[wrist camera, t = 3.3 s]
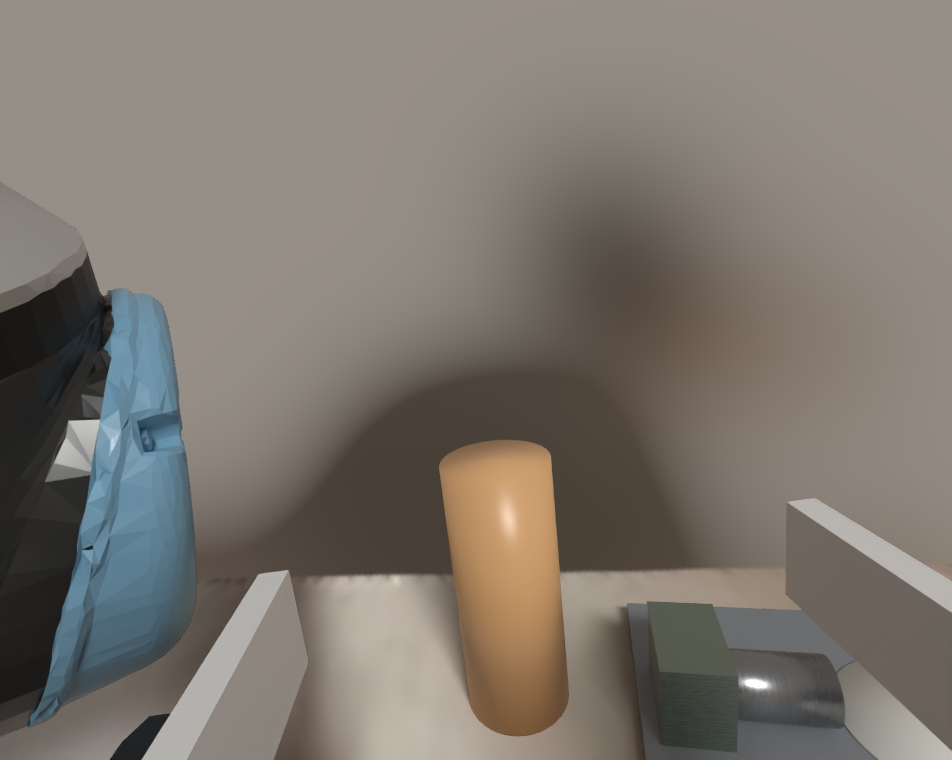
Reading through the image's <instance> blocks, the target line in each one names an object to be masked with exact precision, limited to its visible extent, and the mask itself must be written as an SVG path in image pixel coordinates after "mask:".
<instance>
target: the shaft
mask: <svg viewBox="0 0 952 760" xmlns="http://www.w3.org/2000/svg"><path fill="white" fill-rule="evenodd" d="M647 613H648V645H649V668H650V674H651V681H652V687H653V693H654V700H655V706H656V713H657V719H658V725H659V732H660V738H661V744H662V745H664V746H674V747H684V748H694V749H704V750H714V751H724V752H734V753H737V739H738V720H742V721H754V722H765V723H777V724H788V725H800V726H811V727H823V728H834V729H841V728H842V727H843V726H844V723H845V703H844V697H843V693H842V689H841V685H840V682H839V679H838V676H837V674H836V671H835V669H834V667H833V665H832V663H831V662H830V660H829V659H828V658H827V656H826V655H824V654H821V653H804V652H787V651H770V650H753V649H736V648H728V647H727V644H726V641H725V638H724V635H723V633H722V630H721V627H720V624H719V622H718V619H717V616H716V613H715V611H714V608H713V605H712V604H696V603H672V602H648V601H647Z"/></svg>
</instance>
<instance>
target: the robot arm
mask: <svg viewBox="0 0 952 760" xmlns="http://www.w3.org/2000/svg"><path fill="white" fill-rule="evenodd" d="M181 430H182V421H181V415H180V408H179V389H178V382H177V374H176V367H175V360H174V354H173V348H172V342H171V336H170V331H169V326H168V321H167V317H166V314H165V311H164V308H163V306H162V304H161V303H160V302H159V301H158V300H156V299H155V298H154V297H152V296H150V295H147V294H135V293H132V292H130V291H128V290H127V289H124V288H120V289H115V290H110V291H108V292H107V295H106V296H102V294H101V293H100V291H99V288H98V285H97V282H96V279H95V276H94V272H93V269H92V266H91V263H90V260H89V256H88V253H87V250H86V247H85V244H84V242H83V238H82V236H81V234H80V233H79V232H78V231H77V229H76V228H75V227H74V226H72V225H70V224H69V223H67V222H66V221H64V220H62V219H61V218H59V217H57V216H56V215H54V214H52V213H50V212H49V211H47V210H46V209H44V208H42V207H41V206H39V205H37V204H36V203H34V202H32V201H31V200H29V199H28V198H26V197H24V196H23V195H21V194H19V193H18V192H16V191H14V190H12V189H11V188H9V187H8V186H6V185H5V184H3V183H1V182H0V736H3V735H5V734H8V733H10V732H13V731H15V730H18V729H20V728H23V727H25V726H29V727H33V726H35V725H38V724H41V723H43V722H45V721H47V720H48V719H50V718H51V717H53V716H54V715H55V714H56V713H57V712H58V710H59V709H60V708H61V707H62V706H64V705H66V704H68V703H70V702H72V701H74V700H77V699H79V698H81V697H83V696H85V695H87V694H89V693H91V692H93V691H96V690H98V689H100V688H102V687H104V686H106V685H108V684H110V683H112V682H115V681H117V680H119V679H121V678H123V677H125V676H127V675H129V674H132V673H134V672H136V671H138V670H140V669H142V668H144V667H146V666H148V665H150V664H152V663H153V662H155V661H156V660H158V659H159V658H161V657H162V656H164V655H165V654H166V653H167V652H168V651H170V650H171V649H172V648H173V647H174V646H175V645H176V644H177V642H178V641H179V640H180V639H181V637H182V636H183V634H184V633H185V631H186V630H187V628H188V626H189V624H190V622H191V619H192V616H193V613H194V609H195V604H196V597H197V573H196V571H197V570H196V550H195V535H194V524H193V514H192V502H191V492H190V483H189V475H188V466H187V459H186V451H185V446H184V442H183V440H182V439H181ZM786 595H787V596H788V597H789V598H790V599H791V600H792V601H793V602H794V603H795V604H797V605H798V606H799V607H800V608H801V609H802V610H803V611H804V612H805V613H806V614H807V615H808V616H809V617H810V618H811V619H812V620H813V621H815V622H816V623H817V624H818V625H819V626H820V627H821V628H822V629H823V630H824V631H825V632H826V633H827V634H828V635H829V636H830V637H831V638H833V639H834V640H835V641H836V642H837V643H838V644H839V645H840V646H841V647H842V648H843V649H844V650H845V651H846V652H847V653H848V654H849V655H851V656H852V657H853V658H854V659H855V660H856V661H857V662H858V663H859V664H860V665H861V666H862V667H863V668H864V669H865V670H866V671H867V672H869V673H870V674H871V675H872V676H873V677H874V678H875V679H876V680H877V681H878V682H879V683H880V684H881V685H882V686H883V687H884V688H885V689H887V690H888V691H889V692H890V693H891V694H892V695H893V696H894V697H895V698H896V699H897V700H898V701H899V702H900V703H901V704H902V705H903V706H905V707H906V708H907V709H908V710H909V711H910V712H911V713H912V714H913V715H914V716H915V717H916V718H917V719H918V720H919V721H920V722H921V723H922V724H924V725H925V726H926V727H927V728H928V729H929V730H930V731H931V732H932V733H933V734H934V735H935V736H936V737H937V738H938V739H939V740H940V741H942V742H943V743H944V744H945V745H946V746H947V747H948V748H949V749H950V750H951V751H952V581H950V580H949V579H947V578H945V577H944V576H942V575H940V574H939V573H937V572H935V571H934V570H932V569H930V568H929V567H927V566H926V565H924V564H922V563H921V562H919V561H917V560H916V559H914V558H912V557H911V556H909V555H907V554H906V553H904V552H903V551H901V550H899V549H898V548H896V547H894V546H893V545H891V544H889V543H888V542H886V541H884V540H883V539H881V538H879V537H878V536H876V535H875V534H873V533H871V532H870V531H868V530H866V529H865V528H863V527H861V526H860V525H858V524H856V523H855V522H853V521H852V520H850V519H848V518H846V517H845V516H843V515H842V514H840V513H838V512H837V511H835V510H833V509H832V508H830V507H829V506H827V505H825V504H824V503H822V502H820V501H819V500H817V499H815V498H812V499H805V500H798V501H790V502H787V519H786ZM307 665H308V657H307V652H306V648H305V643H304V639H303V634H302V629H301V625H300V620H299V616H298V611H297V606H296V602H295V597H294V593H293V588H292V583H291V579H290V574H289V570H285V571H278V572H270V573H263V574H258V576H257V577H256V579H255V581H254V582H253V584H252V585H251V587H250V589H249V590H248V592H247V593H246V595H245V597H244V598H243V600H242V601H241V603H240V604H239V606H238V608H237V609H236V611H235V612H234V614H233V616H232V617H231V619H230V620H229V622H228V623H227V625H226V627H225V628H224V630H223V631H222V633H221V635H220V636H219V638H218V639H217V641H216V643H215V644H214V646H213V647H212V649H211V650H210V652H209V654H208V655H207V657H206V658H205V660H204V662H203V663H202V665H201V666H200V668H199V670H198V671H197V673H196V674H195V676H194V677H193V679H192V681H191V682H190V684H189V685H188V687H187V689H186V690H185V692H184V693H183V695H182V696H181V698H180V700H179V701H178V703H177V704H176V706H175V708H174V709H173V711H172V712H171V713H170V714H163V715H156V716H149V717H148V718H147V719H146V720H145V721H144V722H143V723H142V724H141V725H140V726H139V727H138V728H137V729H135V730H134V731H133V732H132V733H131V734H130V735H129V736H128V737H127V738H126V739H125V740H124V741H123V742H122V743H121V744H120V746H119V747H118V749H117V750H116V751H115V753H114V754H113V756H112V757H111V759H110V760H274V757H275V754H276V751H277V749H278V746H279V743H280V740H281V737H282V735H283V732H284V729H285V726H286V724H287V721H288V718H289V715H290V712H291V710H292V707H293V704H294V701H295V698H296V696H297V693H298V690H299V687H300V684H301V682H302V679H303V676H304V673H305V670H306V668H307Z"/></svg>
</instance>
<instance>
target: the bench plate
mask: <svg viewBox="0 0 952 760" xmlns="http://www.w3.org/2000/svg"><path fill="white" fill-rule="evenodd" d="M627 606H628V622H629V630H630V638H631V647H632V655H633V664H634V672H635V680H636V689H637V697H638V705H639V714H640V722H641V730H642V739H643V747H644V755H645V760H952V751H951V750H950V749H949V748H948V747H947V746H946V745H945V744H944V743H943V742H942V741H940V740H939V739H938V738H937V737H936V736H935V735H934V734H933V733H932V732H931V731H930V730H929V729H928V728H927V727H926V726H925V725H924V724H922V723H921V722H920V721H919V720H918V719H917V718H916V717H915V716H914V715H913V714H912V713H911V712H910V711H909V710H908V709H907V708H906V707H905V706H903V705H902V704H901V703H900V702H899V701H898V700H897V699H896V698H895V697H894V696H893V695H892V694H891V693H890V692H889V691H888V690H887V689H885V688H884V687H883V686H882V685H881V684H880V683H879V682H878V681H877V680H876V679H875V678H874V677H873V676H872V675H871V674H870V673H869V672H867V671H866V670H865V669H864V668H863V667H862V666H861V665H860V664H859V663H858V662H857V661H856V660H855V659H854V658H853V657H852V656H851V655H849V654H848V653H847V652H846V651H845V650H844V649H843V648H842V647H841V646H840V645H839V644H838V643H837V642H836V641H835V640H834V639H833V638H831V637H830V636H829V635H828V634H827V633H826V632H825V631H824V630H823V629H822V628H821V627H820V626H819V625H818V624H817V623H816V622H815V621H813V620H812V619H811V618H810V617H809V616H808V615H807V614H806V613H805V612H804V611H800V610H776V609H753V608H729V607H713V608H714V611H715V613H716V616H717V619H718V622H719V624H720V627H721V630H722V633H723V635H724V638H725V641H726V644H727V647H728V648H736V649H753V650H770V651H787V652H804V653H821V654H824V655H826V656H827V658H828V659H829V660H830V662H831V663H832V665H833V667H834V669H835V671H836V674H837V676H838V679H839V682H840V685H841V689H842V693H843V697H844V703H845V723H844V726H843V727H842V728H841V729H834V728H823V727H811V726H800V725H788V724H777V723H765V722H754V721H742V720H738V739H737V753H734V752H724V751H714V750H704V749H694V748H684V747H674V746H664V745H662V744H661V738H660V732H659V725H658V719H657V713H656V706H655V700H654V693H653V687H652V681H651V674H650V668H649V645H648V613H647V604H634V603H627Z"/></svg>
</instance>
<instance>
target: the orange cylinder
mask: <svg viewBox="0 0 952 760" xmlns="http://www.w3.org/2000/svg"><path fill="white" fill-rule="evenodd" d="M439 469H440V477H441V485H442V492H443V500H444V507H445V515H446V523H447V530H448V537H449V546H450V553H451V561H452V569H453V576H454V584H455V592H456V599H457V607H458V615H459V622H460V630H461V638H462V645H463V653H464V661H465V668H466V676H467V684H468V691H469V699H470V704H471V708H472V710H473V712H474V714H475V715H476V717H477V718H478V719H479V721H480V722H481V723H483V724H484V725H485V726H486V727H488V728H489V729H491V730H493V731H495V732H498V733H501V734H504V735H509V736H527V735H532V734H535V733H538V732H541V731H543V730H545V729H547V728H548V727H550V726H552V725H553V724H554V723H555V722H556V721H557V720H558V719H559V718H560V717H561V715H562V714H563V712H564V711H565V708H566V706H567V703H568V697H569V689H568V676H567V663H566V650H565V637H564V624H563V610H562V597H561V584H560V571H559V558H558V547H557V533H556V519H555V506H554V494H553V479H552V467H551V455H550V453H549V452H548V450H546V449H545V448H544V447H542V446H540V445H537V444H534V443H530V442H526V441H517V440H495V441H486V442H481V443H475V444H472V445H468V446H465V447H462V448H459V449H457V450H455V451H453V452H451V453H450V454H448V455H447V456H445V457H444V458H443V459H442V461H441V462H440V465H439Z"/></svg>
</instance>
